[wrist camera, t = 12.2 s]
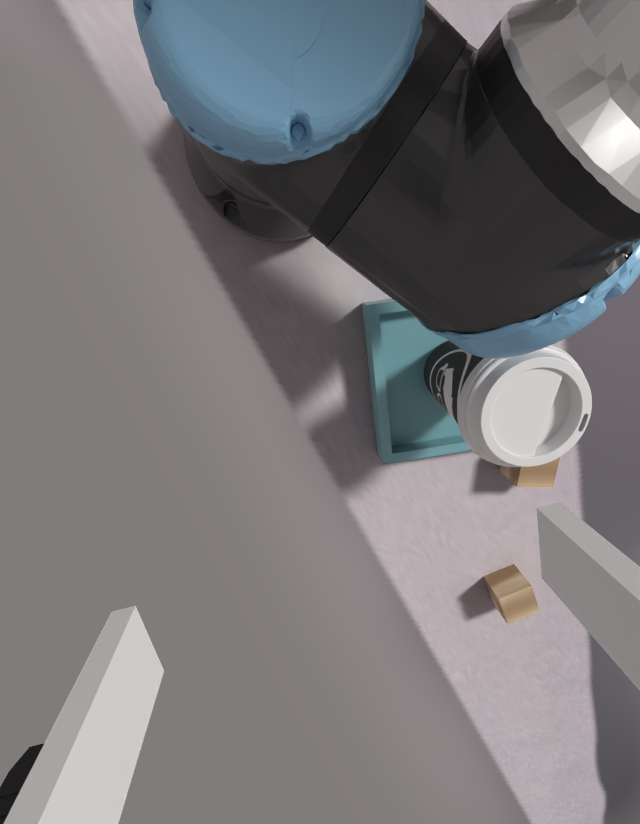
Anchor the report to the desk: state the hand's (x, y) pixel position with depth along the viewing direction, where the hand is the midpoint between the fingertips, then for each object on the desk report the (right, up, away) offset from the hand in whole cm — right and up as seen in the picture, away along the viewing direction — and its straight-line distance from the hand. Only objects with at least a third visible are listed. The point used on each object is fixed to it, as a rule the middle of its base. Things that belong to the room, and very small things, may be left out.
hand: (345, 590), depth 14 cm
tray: (+12, +10, +31) cm, 35 cm away
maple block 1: (+22, +1, +35) cm, 41 cm away
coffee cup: (+13, +10, +30) cm, 34 cm away
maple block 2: (+22, -15, +40) cm, 48 cm away
